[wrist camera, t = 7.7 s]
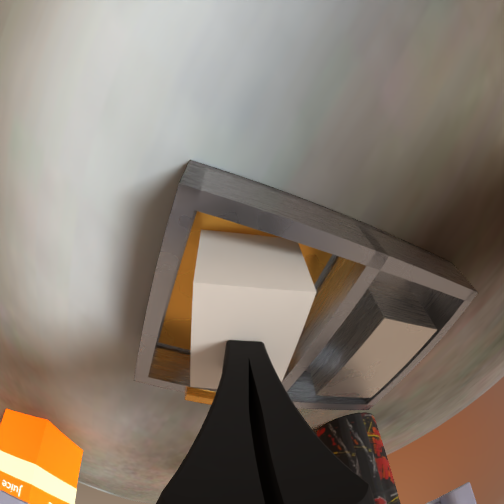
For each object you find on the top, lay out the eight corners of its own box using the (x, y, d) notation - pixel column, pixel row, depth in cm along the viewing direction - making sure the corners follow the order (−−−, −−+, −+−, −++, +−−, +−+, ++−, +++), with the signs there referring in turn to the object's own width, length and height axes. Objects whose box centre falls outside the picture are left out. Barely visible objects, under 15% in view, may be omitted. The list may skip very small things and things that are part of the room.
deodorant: (313, 424, 24) (342, 570, 11) (376, 406, 23) (418, 547, 11) (318, 443, 27) (342, 564, 14) (371, 428, 26) (404, 545, 14)
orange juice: (48, 419, 23) (22, 571, 6) (84, 450, 28) (69, 578, 11) (4, 408, 23) (-27, 539, 6) (41, 440, 28) (21, 555, 11)
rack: (452, 263, 15) (483, 299, 12) (357, 379, 20) (370, 416, 17) (190, 159, 11) (176, 190, 8) (142, 341, 16) (131, 389, 13)
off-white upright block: (296, 239, 13) (316, 292, 10) (269, 336, 16) (277, 390, 13) (201, 229, 12) (193, 282, 9) (194, 331, 15) (190, 386, 12)
